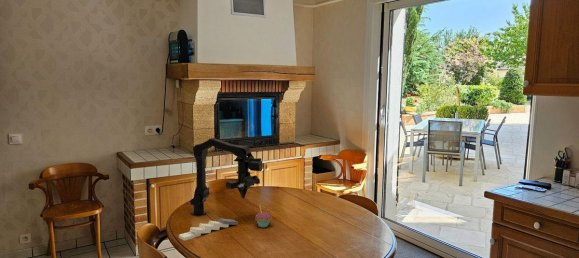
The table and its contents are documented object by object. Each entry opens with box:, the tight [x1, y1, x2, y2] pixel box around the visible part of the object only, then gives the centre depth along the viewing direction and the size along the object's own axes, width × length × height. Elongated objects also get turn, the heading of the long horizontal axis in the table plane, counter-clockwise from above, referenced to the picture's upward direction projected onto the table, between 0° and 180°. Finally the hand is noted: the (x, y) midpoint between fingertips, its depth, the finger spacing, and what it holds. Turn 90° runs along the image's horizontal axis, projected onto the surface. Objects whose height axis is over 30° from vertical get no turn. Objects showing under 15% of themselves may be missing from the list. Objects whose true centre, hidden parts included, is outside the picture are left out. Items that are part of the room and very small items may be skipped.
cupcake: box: [254, 204, 273, 228], centre depth 205 cm, size 9×8×12 cm
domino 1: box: [178, 230, 202, 242], centre depth 190 cm, size 2×5×9 cm
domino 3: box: [198, 222, 221, 231], centre depth 198 cm, size 2×5×9 cm
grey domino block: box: [217, 217, 239, 226], centre depth 205 cm, size 2×5×9 cm
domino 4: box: [207, 220, 230, 228], centre depth 202 cm, size 2×5×9 cm
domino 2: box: [189, 226, 212, 234], centre depth 193 cm, size 2×5×9 cm
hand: (243, 198), depth 214 cm, fingers closed
